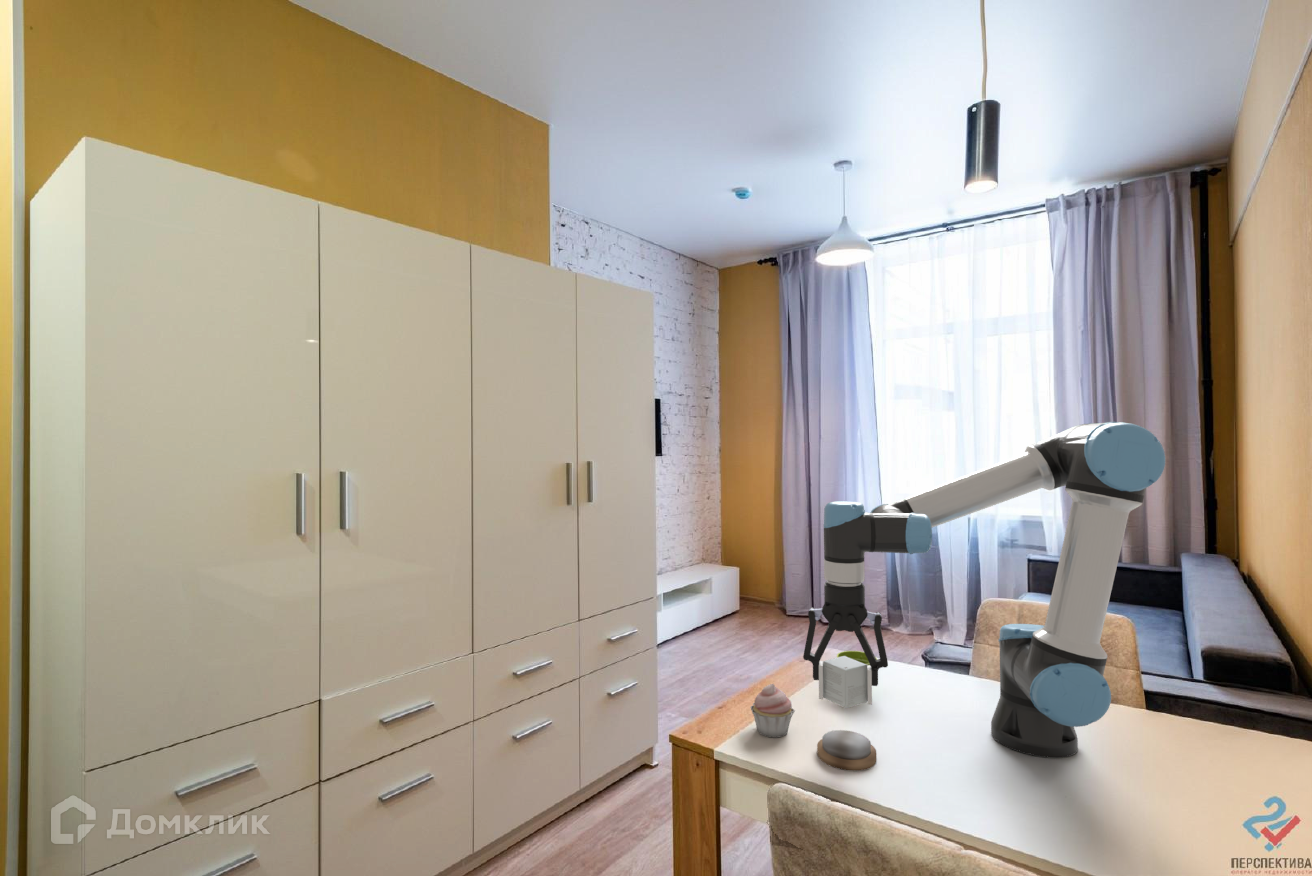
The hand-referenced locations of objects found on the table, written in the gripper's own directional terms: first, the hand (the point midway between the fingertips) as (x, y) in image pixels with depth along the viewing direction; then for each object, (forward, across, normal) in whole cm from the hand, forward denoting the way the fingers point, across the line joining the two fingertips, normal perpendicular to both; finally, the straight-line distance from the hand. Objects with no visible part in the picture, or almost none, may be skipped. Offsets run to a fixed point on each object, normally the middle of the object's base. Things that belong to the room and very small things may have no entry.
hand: (845, 698), depth 126 cm
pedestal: (+11, 0, 0) cm, 11 cm away
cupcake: (+11, +15, -7) cm, 20 cm away
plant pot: (+11, -2, -33) cm, 35 cm away
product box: (+1, 0, 0) cm, 1 cm away
